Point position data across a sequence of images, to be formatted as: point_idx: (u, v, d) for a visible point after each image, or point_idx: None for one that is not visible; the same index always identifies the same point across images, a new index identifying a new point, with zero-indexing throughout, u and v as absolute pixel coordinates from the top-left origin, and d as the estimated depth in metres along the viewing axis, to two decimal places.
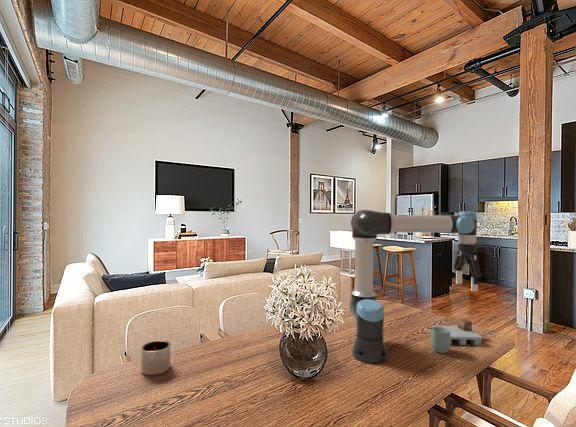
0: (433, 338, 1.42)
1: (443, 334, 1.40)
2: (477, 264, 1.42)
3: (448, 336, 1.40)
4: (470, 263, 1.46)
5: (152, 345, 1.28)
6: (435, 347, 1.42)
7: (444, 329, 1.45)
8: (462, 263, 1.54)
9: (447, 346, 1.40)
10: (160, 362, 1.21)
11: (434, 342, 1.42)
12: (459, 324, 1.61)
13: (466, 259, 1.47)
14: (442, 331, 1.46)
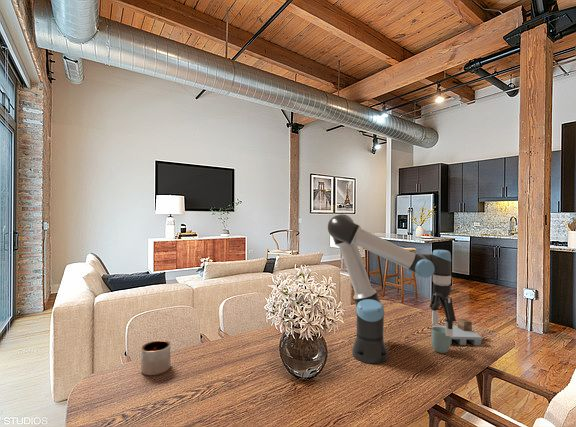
0: (433, 338, 1.42)
1: (443, 334, 1.40)
2: (451, 308, 1.35)
3: (448, 336, 1.40)
4: (444, 306, 1.39)
5: (152, 345, 1.28)
6: (435, 347, 1.42)
7: (444, 329, 1.45)
8: (437, 303, 1.47)
9: (447, 346, 1.40)
10: (160, 362, 1.21)
11: (434, 342, 1.42)
12: (459, 324, 1.61)
13: (440, 301, 1.40)
14: (442, 331, 1.46)
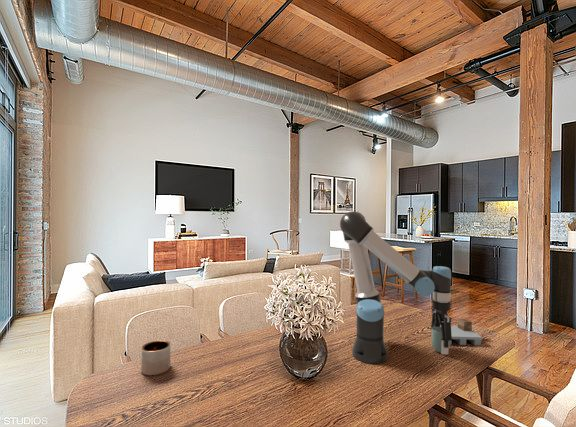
0: (433, 338, 1.42)
1: None
2: (449, 327, 1.37)
3: None
4: (443, 324, 1.40)
5: (152, 345, 1.28)
6: (435, 347, 1.42)
7: None
8: (438, 322, 1.46)
9: None
10: (160, 362, 1.21)
11: (434, 342, 1.42)
12: (459, 324, 1.61)
13: (439, 319, 1.41)
14: None
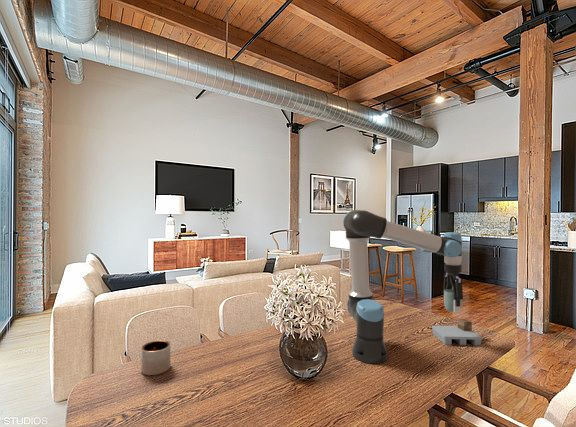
0: (446, 299, 1.52)
1: None
2: (460, 287, 1.47)
3: None
4: (454, 285, 1.50)
5: (152, 345, 1.28)
6: (448, 307, 1.52)
7: None
8: (450, 284, 1.56)
9: None
10: (160, 362, 1.21)
11: (447, 302, 1.52)
12: (459, 324, 1.61)
13: (451, 280, 1.51)
14: None
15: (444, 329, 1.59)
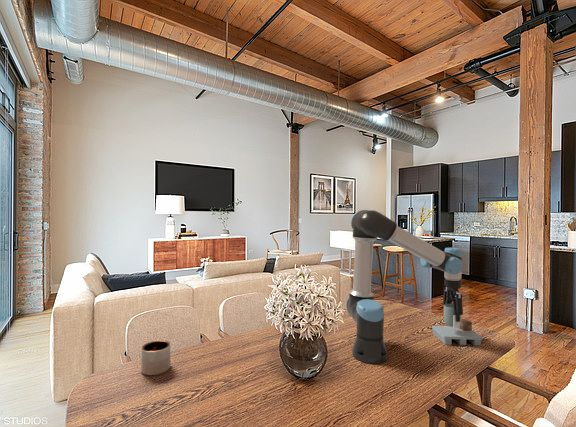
0: (446, 314, 1.54)
1: None
2: (460, 303, 1.48)
3: None
4: (454, 300, 1.52)
5: (152, 345, 1.28)
6: (447, 322, 1.53)
7: None
8: (449, 299, 1.58)
9: None
10: (160, 362, 1.21)
11: (446, 317, 1.54)
12: None
13: (451, 295, 1.53)
14: (453, 307, 1.57)
15: (444, 329, 1.59)
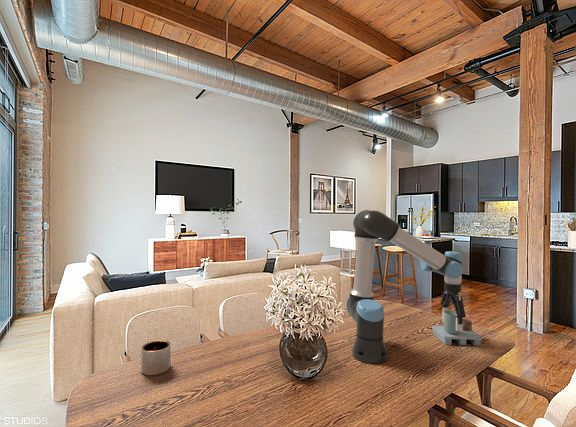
0: (445, 320, 1.54)
1: (455, 316, 1.51)
2: (461, 305, 1.47)
3: None
4: (455, 303, 1.51)
5: (152, 345, 1.28)
6: (447, 329, 1.53)
7: (455, 312, 1.57)
8: (448, 301, 1.59)
9: None
10: (160, 362, 1.21)
11: (446, 324, 1.54)
12: None
13: (451, 299, 1.52)
14: (453, 314, 1.57)
15: (444, 329, 1.59)
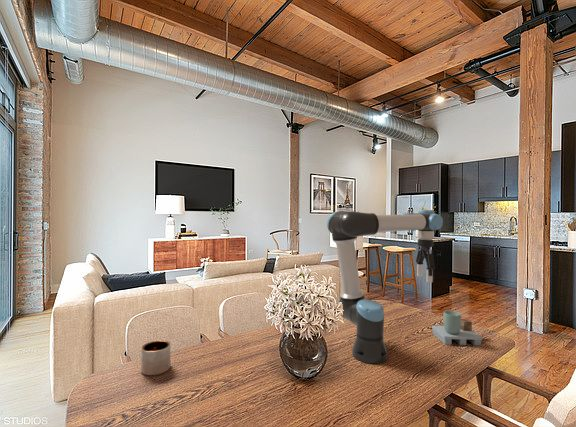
0: (445, 320, 1.54)
1: (454, 316, 1.51)
2: (432, 257, 1.56)
3: (459, 318, 1.51)
4: (427, 257, 1.60)
5: (152, 345, 1.28)
6: (447, 329, 1.53)
7: (455, 312, 1.57)
8: (422, 257, 1.68)
9: (458, 327, 1.51)
10: (160, 362, 1.21)
11: (446, 324, 1.54)
12: None
13: (423, 253, 1.61)
14: (453, 314, 1.57)
15: (444, 329, 1.59)
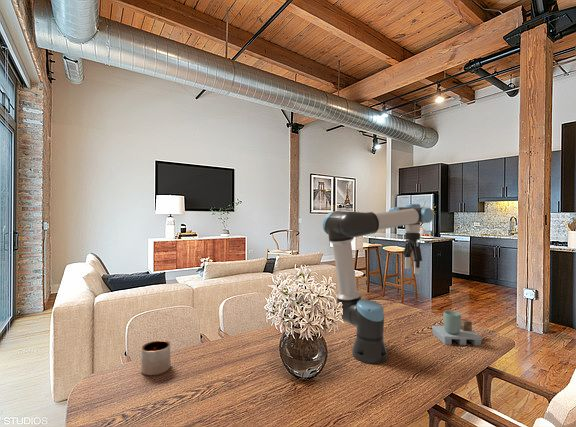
0: (445, 320, 1.54)
1: (454, 316, 1.51)
2: (419, 250, 1.61)
3: (459, 318, 1.51)
4: (414, 249, 1.65)
5: (152, 345, 1.28)
6: (447, 329, 1.53)
7: (455, 312, 1.57)
8: (409, 250, 1.73)
9: (458, 327, 1.51)
10: (160, 362, 1.21)
11: (446, 324, 1.54)
12: None
13: (411, 246, 1.66)
14: (453, 314, 1.57)
15: (444, 329, 1.59)
